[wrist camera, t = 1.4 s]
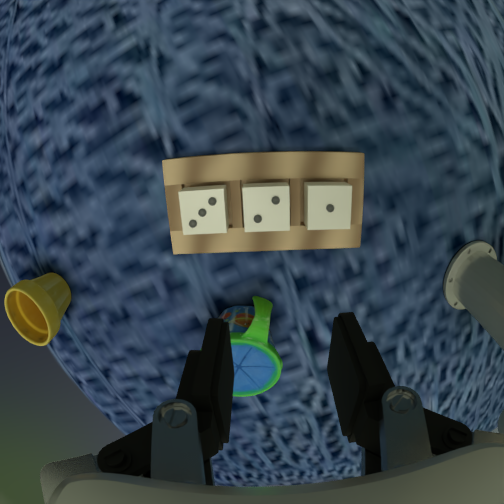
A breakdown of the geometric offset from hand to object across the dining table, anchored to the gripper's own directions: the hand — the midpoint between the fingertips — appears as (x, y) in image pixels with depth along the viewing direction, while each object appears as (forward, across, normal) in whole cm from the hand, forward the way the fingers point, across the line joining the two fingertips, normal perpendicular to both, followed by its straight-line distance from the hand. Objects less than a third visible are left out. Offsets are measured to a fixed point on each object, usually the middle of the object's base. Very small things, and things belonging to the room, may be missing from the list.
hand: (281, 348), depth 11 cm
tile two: (+25, 0, 0) cm, 25 cm away
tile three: (+25, +7, 0) cm, 26 cm away
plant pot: (+28, +36, +12) cm, 47 cm away
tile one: (+25, -7, 0) cm, 26 cm away
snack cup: (+28, +4, +18) cm, 33 cm away
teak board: (+27, 0, 0) cm, 27 cm away
